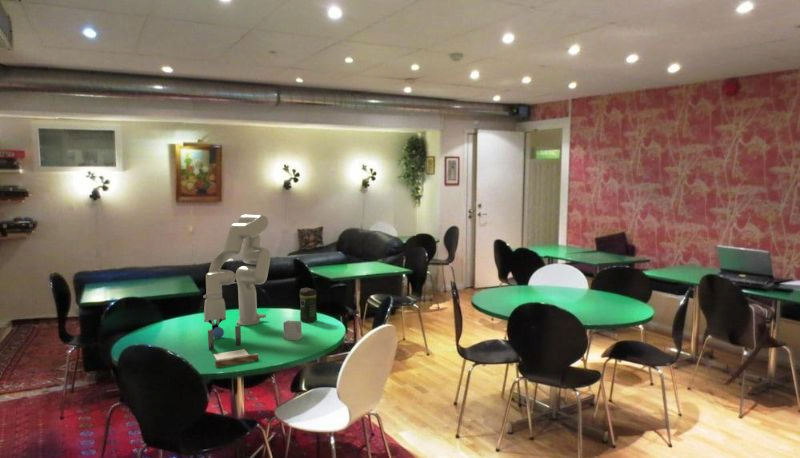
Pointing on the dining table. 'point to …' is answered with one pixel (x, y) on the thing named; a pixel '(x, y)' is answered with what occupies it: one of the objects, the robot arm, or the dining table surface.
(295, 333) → the medicine box
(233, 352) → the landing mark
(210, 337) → the post
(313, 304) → the coffee jar
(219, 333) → the ball
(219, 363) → the stopper wall
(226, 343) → the dining table surface
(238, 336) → the post
